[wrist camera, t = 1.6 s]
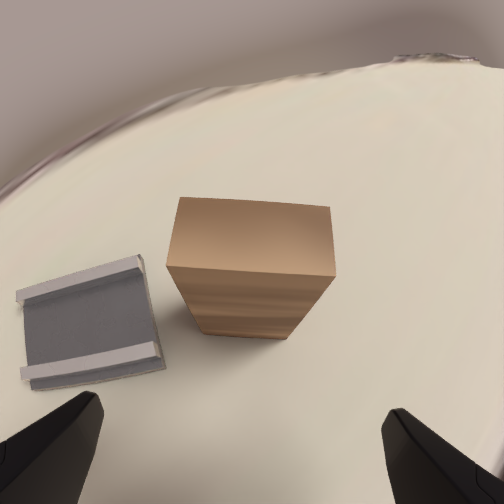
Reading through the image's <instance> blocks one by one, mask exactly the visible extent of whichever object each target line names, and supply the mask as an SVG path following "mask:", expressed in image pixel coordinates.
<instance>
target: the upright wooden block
mask: <svg viewBox="0 0 504 504" xmlns="http://www.w3.org/2000/svg"><path fill="white" fill-rule="evenodd" d="M166 267H167V269H168V271H169V273H170V274H171V276H172V278H173V280H174V282H175V284H176V286H177V288H178V290H179V291H180V293H181V295H182V297H183V299H184V301H185V303H186V304H187V306H188V308H189V310H190V312H191V313H192V315H193V317H194V319H195V320H196V322H197V324H198V326H199V328H200V329H201V331H202V333H203V334H207V335H219V336H232V337H248V338H267V339H287V338H288V336H289V335H290V334H291V333H292V332H293V330H294V329H295V328H296V327H297V326H298V324H299V323H300V322H301V321H302V319H303V318H304V317H305V316H306V314H307V313H308V312H309V311H310V309H311V308H312V307H313V306H314V304H315V303H316V302H317V300H318V299H319V298H320V297H321V295H322V294H323V293H324V291H325V290H326V289H327V288H328V286H329V285H330V284H331V282H332V281H333V280H334V278H335V277H336V268H335V255H334V243H333V233H332V223H331V213H330V207H326V206H315V205H304V204H292V203H279V202H266V201H251V200H234V199H215V198H192V197H180V199H179V204H178V208H177V213H176V217H175V222H174V227H173V232H172V237H171V242H170V247H169V252H168V257H167V262H166Z"/></svg>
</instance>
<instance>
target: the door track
mask: <svg viewBox="0 0 504 504" xmlns="http://www.w3.org/2000/svg"><path fill="white" fill-rule="evenodd" d="M16 302H17V303H19V304H20V305H22V306H24V329H25V343H26V354H27V363H28V366H27V367H20V373H21V380H24V381H29V382H30V384H31V390H35V391H42V390H51V389H58V388H66V387H73V386H79V385H86V384H92V383H98V382H104V381H109V380H114V379H120V378H125V377H130V376H135V375H140V374H144V373H149V372H153V371H158V370H162V369H166V365H165V361H164V357H163V353H162V349H161V345H160V341H159V337H158V333H157V328H156V324H155V319H154V314H153V310H152V305H151V300H150V295H149V289H148V284H147V278H146V273H145V267H144V261H143V258H142V257H141V255H140V254H139V255H135V256H131V257H128V258H124V259H121V260H117V261H114V262H110V263H107V264H103V265H100V266H96V267H93V268H90V269H86V270H83V271H79V272H76V273H73V274H69V275H66V276H63V277H59V278H56V279H53V280H50V281H46V282H43V283H40V284H37V285H33V286H30V287H27V288H24V289H21V290H18V291H16Z"/></svg>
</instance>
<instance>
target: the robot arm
mask: <svg viewBox="0 0 504 504" xmlns="http://www.w3.org/2000/svg"><path fill="white" fill-rule="evenodd" d="M103 418H104V410H103V407H102V404H101V402H100V399H99V396H98V395H97V394H96V393H93V392H90V391H84V392H82V393H80V394H79V395H77V396H76V397H74V398H73V399H71V400H69V401H68V402H66V403H65V404H63V405H62V406H60V407H58V408H57V409H55V410H54V411H52V412H50V413H49V414H47V415H46V416H44V417H42V418H41V419H39V420H38V421H36V422H34V423H33V424H31V425H30V426H28V427H26V428H25V429H23V430H21V431H20V432H18V433H16V434H15V435H13V436H12V437H10V438H8V439H7V441H6V440H5V441H3V442H1V443H0V504H77V503H78V500H79V497H80V494H81V491H82V488H83V485H84V482H85V479H86V476H87V474H88V471H89V468H90V465H91V462H92V460H93V457H94V454H95V450H96V446H97V442H98V437H99V433H100V429H101V426H102V422H103ZM381 433H382V439H383V445H384V452H385V459H386V466H387V471H388V475H389V479H390V483H391V487H392V491H393V495H394V499H395V503H396V504H504V481H502V480H500V479H499V478H497V477H495V476H494V475H492V474H491V473H489V472H488V471H486V470H485V469H483V468H482V467H481V466H479V465H478V464H476V463H475V462H474V461H472V460H471V459H470V458H468V457H467V456H465V455H464V454H463V453H461V452H460V451H459V450H457V449H456V448H455V447H453V446H452V445H451V444H449V443H448V442H447V441H445V440H444V439H443V438H441V437H440V436H439V435H438V434H436V433H435V432H434V431H432V430H431V429H430V428H428V427H427V426H426V425H424V424H423V423H422V422H421V421H419V420H418V419H417V418H415V417H414V416H413V415H412V414H410V413H409V412H408V411H406V410H405V409H403V408H397V409H392V410H390V411H389V413H388V415H387V417H386V419H385V421H384V423H383V425H382V428H381Z"/></svg>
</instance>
